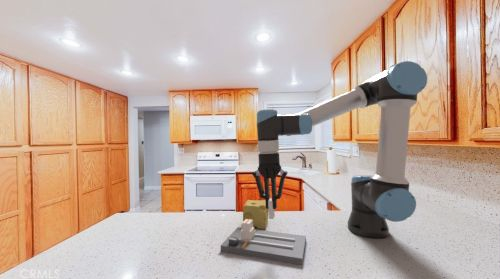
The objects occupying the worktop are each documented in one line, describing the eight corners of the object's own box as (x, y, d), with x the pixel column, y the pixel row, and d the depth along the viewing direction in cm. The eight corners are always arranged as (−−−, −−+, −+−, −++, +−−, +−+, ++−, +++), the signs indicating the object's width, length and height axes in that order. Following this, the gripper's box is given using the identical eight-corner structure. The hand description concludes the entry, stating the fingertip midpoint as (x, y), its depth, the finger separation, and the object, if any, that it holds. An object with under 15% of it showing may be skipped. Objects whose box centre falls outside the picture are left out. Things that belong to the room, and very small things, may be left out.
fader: (254, 235, 81) (254, 219, 81) (251, 240, 77) (250, 223, 77) (244, 234, 82) (244, 218, 82) (240, 239, 78) (240, 222, 78)
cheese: (266, 230, 91) (265, 206, 91) (241, 228, 93) (241, 205, 93) (268, 220, 101) (268, 199, 101) (246, 219, 104) (246, 199, 104)
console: (305, 241, 81) (305, 231, 81) (302, 265, 65) (302, 253, 65) (237, 231, 89) (237, 223, 89) (220, 251, 74) (220, 240, 74)
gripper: (288, 151, 78) (291, 215, 78) (254, 152, 82) (257, 212, 82) (284, 152, 71) (288, 223, 71) (248, 153, 75) (251, 220, 75)
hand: (271, 217), depth 77 cm, fingers closed
